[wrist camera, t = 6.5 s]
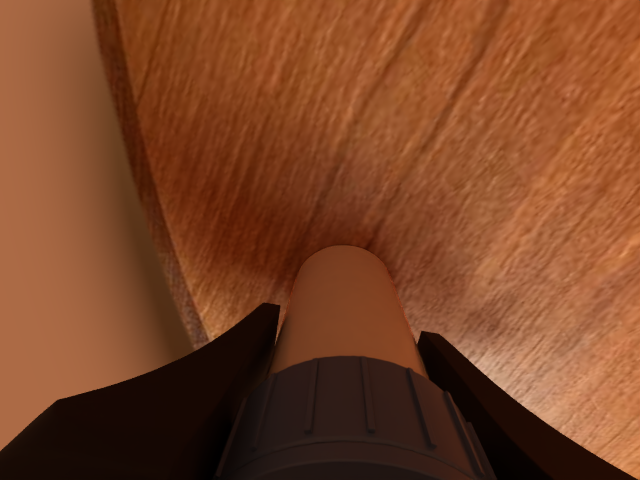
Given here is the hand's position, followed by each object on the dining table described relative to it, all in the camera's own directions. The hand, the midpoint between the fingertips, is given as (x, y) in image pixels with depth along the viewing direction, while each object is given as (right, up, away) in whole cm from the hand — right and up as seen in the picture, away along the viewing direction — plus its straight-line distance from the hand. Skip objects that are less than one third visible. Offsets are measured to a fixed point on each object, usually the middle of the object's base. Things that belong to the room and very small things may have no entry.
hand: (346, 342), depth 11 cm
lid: (0, -2, -6) cm, 6 cm away
